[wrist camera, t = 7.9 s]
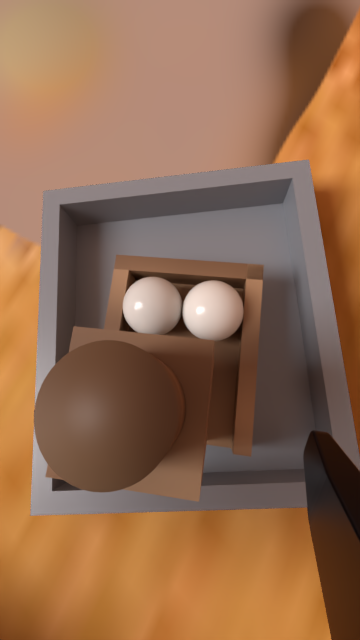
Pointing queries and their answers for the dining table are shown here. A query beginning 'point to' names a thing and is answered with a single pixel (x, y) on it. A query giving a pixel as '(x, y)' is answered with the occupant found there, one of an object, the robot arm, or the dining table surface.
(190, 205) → the bin
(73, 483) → the brown wooden box
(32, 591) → the dining table surface
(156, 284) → the white round ball
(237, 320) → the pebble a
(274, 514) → the dining table surface
